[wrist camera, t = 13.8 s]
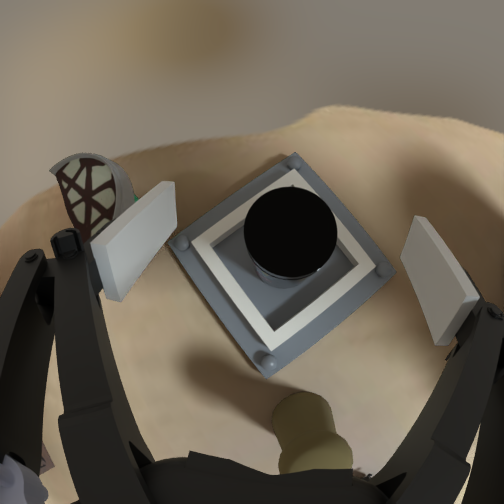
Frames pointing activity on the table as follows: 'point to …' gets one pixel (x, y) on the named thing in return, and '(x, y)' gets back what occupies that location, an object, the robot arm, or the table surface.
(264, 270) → the supplement container
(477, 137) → the table surface
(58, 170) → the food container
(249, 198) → the base plate
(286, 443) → the cork
